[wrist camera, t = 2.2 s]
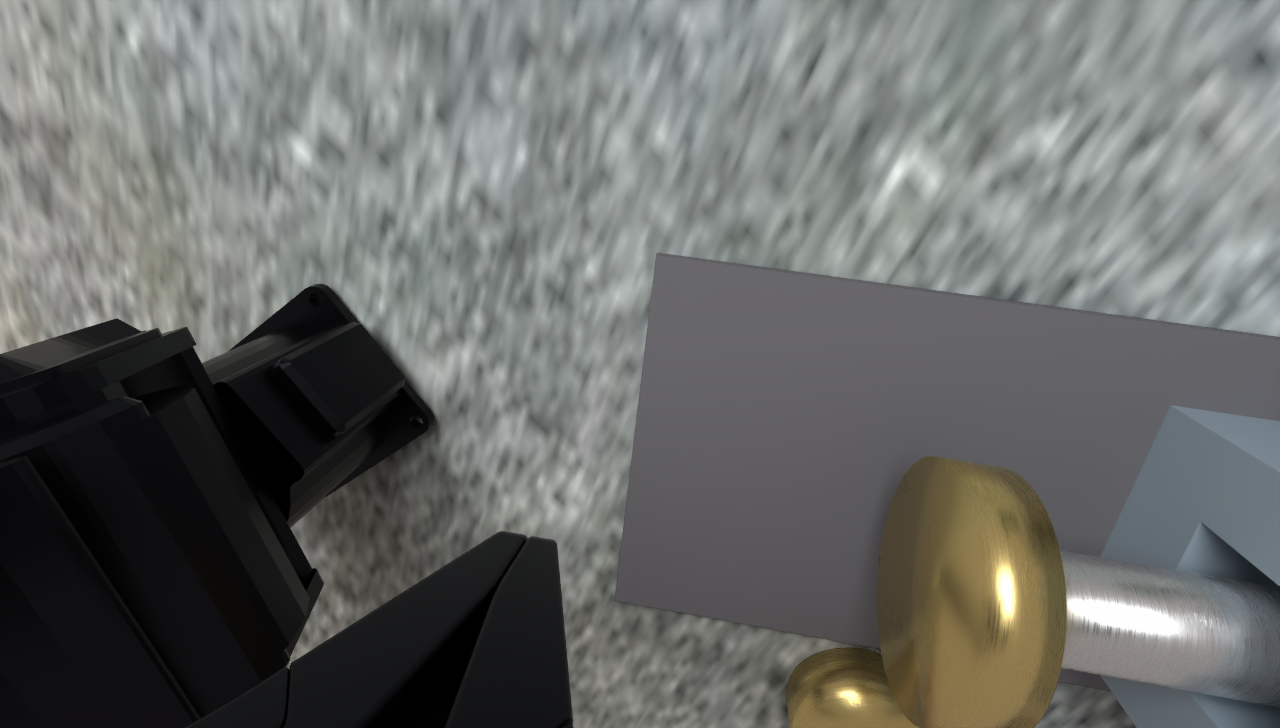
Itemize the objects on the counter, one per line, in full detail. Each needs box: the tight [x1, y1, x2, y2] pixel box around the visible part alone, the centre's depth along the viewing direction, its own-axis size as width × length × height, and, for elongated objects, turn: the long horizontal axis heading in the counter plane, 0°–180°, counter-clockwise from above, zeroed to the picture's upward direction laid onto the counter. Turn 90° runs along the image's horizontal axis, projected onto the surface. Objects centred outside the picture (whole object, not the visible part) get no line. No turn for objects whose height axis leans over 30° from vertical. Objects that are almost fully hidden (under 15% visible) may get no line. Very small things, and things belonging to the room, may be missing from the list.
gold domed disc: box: [786, 648, 919, 728], centre depth 25 cm, size 5×5×2 cm
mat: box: [615, 253, 1280, 691], centre depth 22 cm, size 24×14×1 cm, turn 84°
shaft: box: [877, 456, 1280, 728], centre depth 16 cm, size 15×7×7 cm, turn 84°
